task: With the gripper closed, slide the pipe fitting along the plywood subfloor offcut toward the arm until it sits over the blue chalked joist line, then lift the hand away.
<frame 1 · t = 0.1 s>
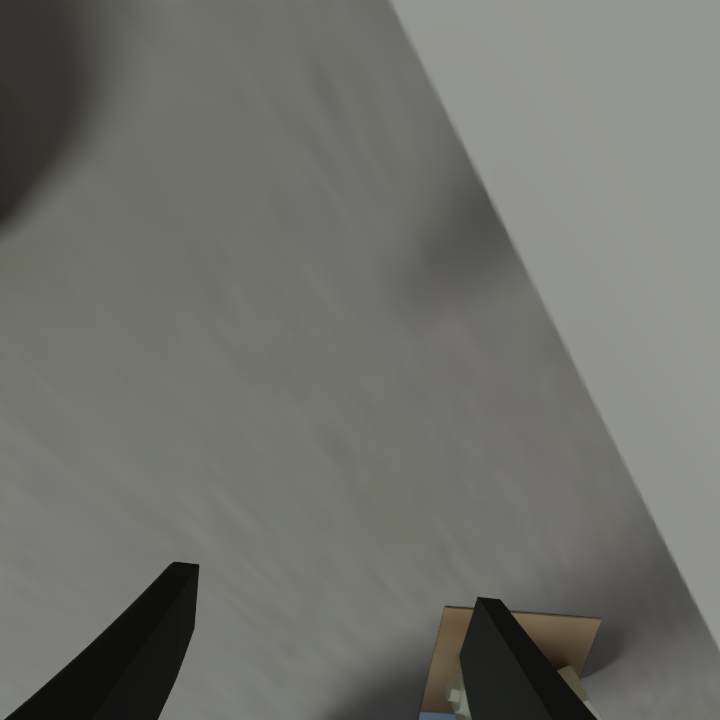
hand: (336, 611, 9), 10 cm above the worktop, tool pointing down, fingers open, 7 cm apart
pipe fitting: (504, 671, 24), resting on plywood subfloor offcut
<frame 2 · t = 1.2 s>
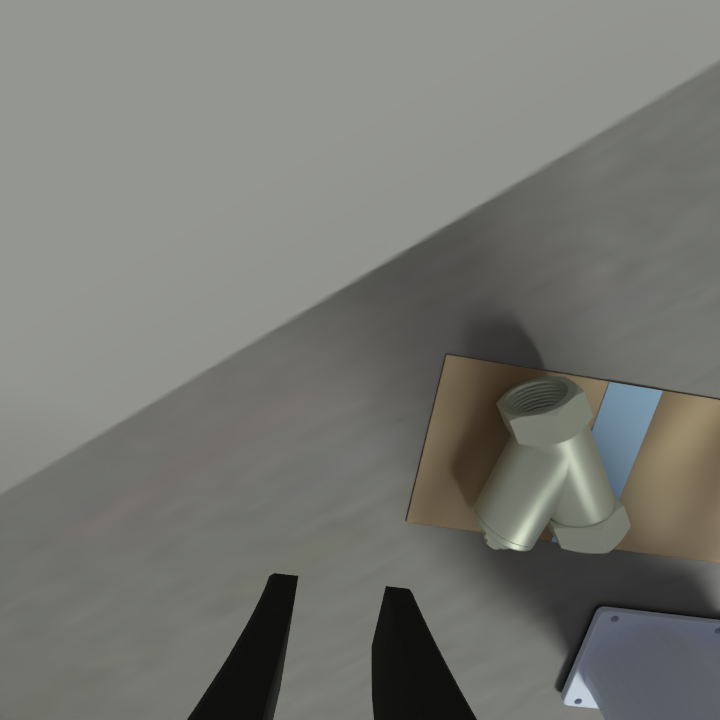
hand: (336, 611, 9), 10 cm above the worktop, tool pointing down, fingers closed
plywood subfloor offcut: (598, 468, 21), on the worktop
pipe fitting: (512, 455, 20), resting on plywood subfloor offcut
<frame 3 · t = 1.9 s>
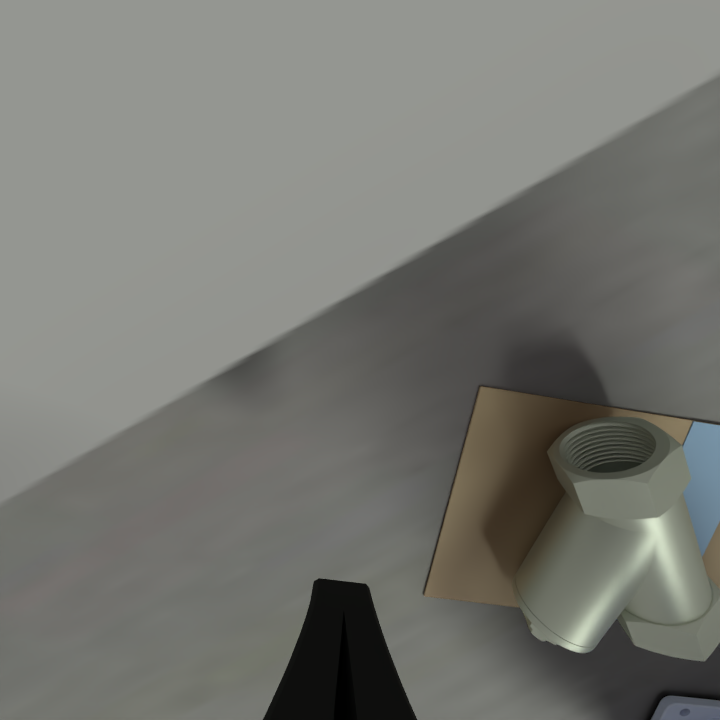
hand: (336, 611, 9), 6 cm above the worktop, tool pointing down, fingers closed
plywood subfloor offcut: (673, 530, 16), on the worktop
pipe fitting: (562, 512, 16), resting on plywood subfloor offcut
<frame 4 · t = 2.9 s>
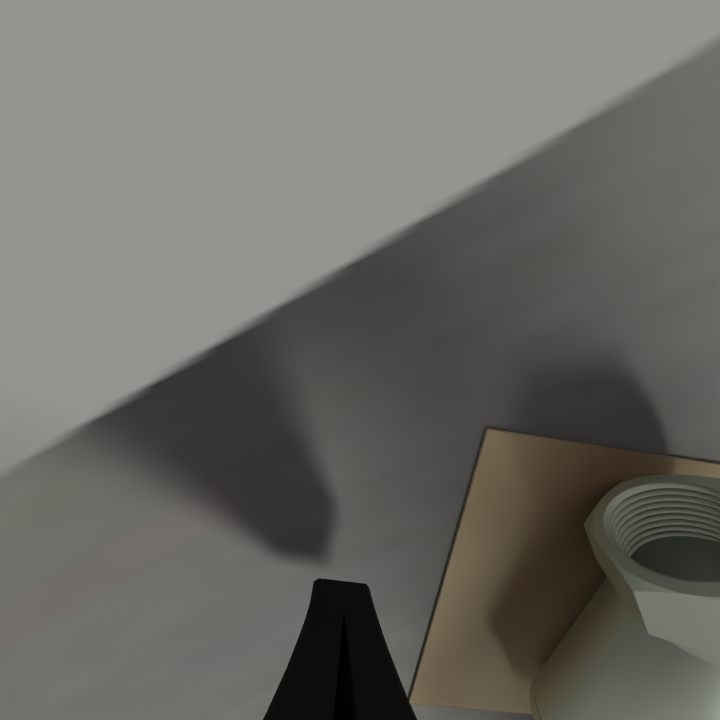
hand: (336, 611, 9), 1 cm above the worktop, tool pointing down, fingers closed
pipe fitting: (597, 595, 11), resting on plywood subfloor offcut
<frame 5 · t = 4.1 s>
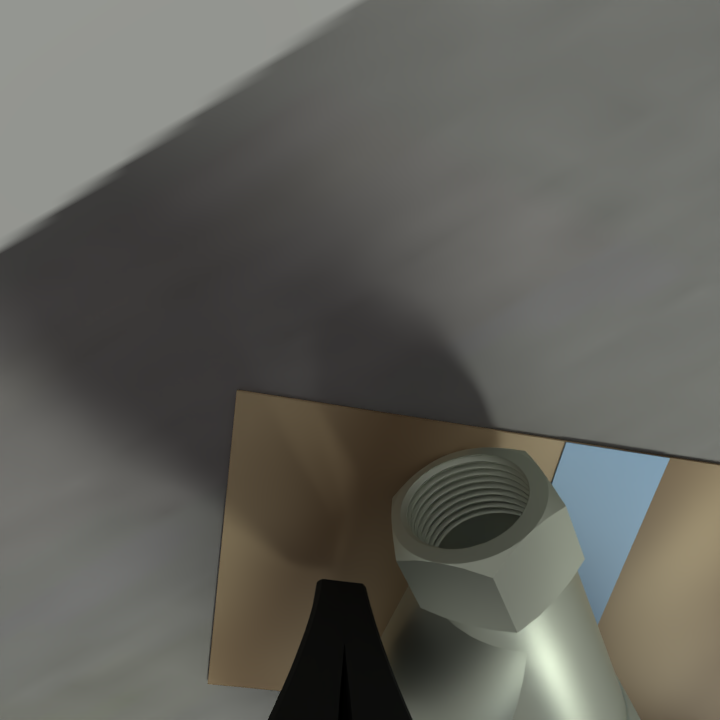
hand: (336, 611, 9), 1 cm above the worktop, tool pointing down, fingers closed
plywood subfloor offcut: (551, 593, 11), on the worktop
pipe fitting: (437, 577, 11), resting on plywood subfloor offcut, touching gripper
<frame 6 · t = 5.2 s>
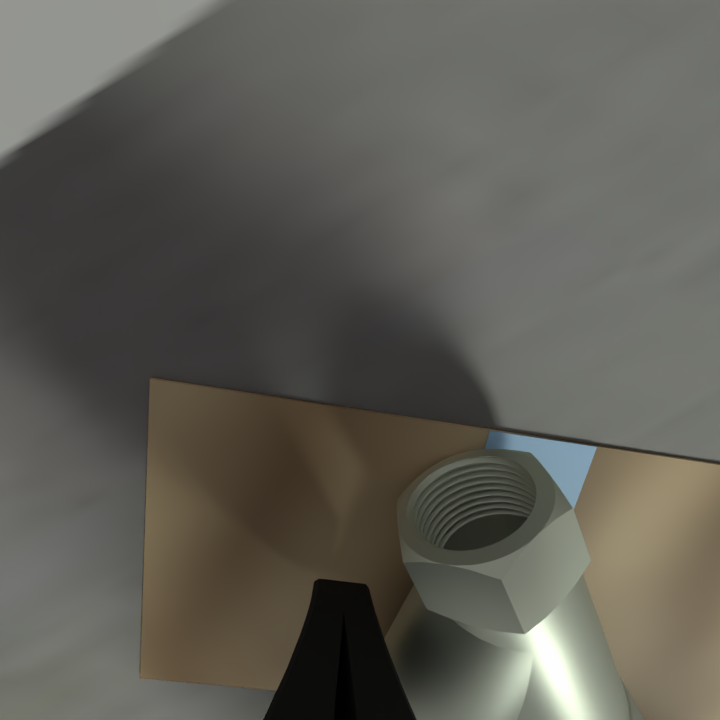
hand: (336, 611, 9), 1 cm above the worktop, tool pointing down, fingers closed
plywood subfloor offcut: (485, 585, 11), on the worktop
pipe fitting: (441, 578, 11), resting on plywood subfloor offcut, touching gripper
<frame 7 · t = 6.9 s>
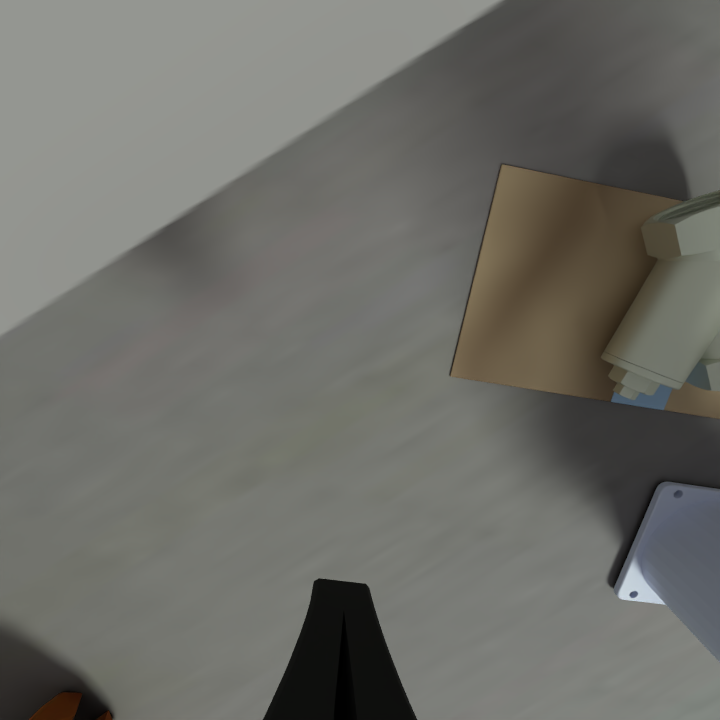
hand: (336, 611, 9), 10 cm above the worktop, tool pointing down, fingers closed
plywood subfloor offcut: (667, 312, 18), on the worktop
pipe fitting: (642, 303, 18), resting on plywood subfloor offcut
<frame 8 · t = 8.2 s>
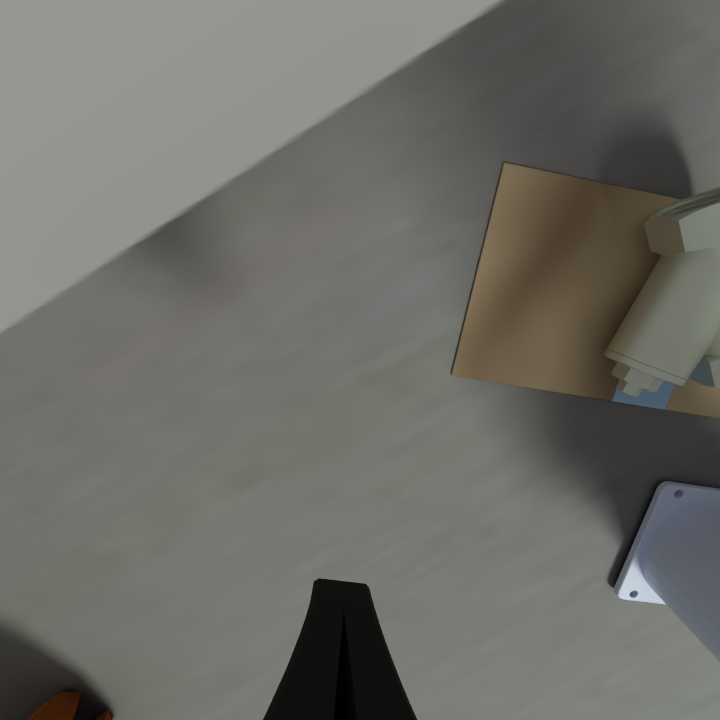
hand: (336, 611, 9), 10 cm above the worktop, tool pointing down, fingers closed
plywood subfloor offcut: (668, 311, 18), on the worktop
pipe fitting: (645, 300, 18), resting on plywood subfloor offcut
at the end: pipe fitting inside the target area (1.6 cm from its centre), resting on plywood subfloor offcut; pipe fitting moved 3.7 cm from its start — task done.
